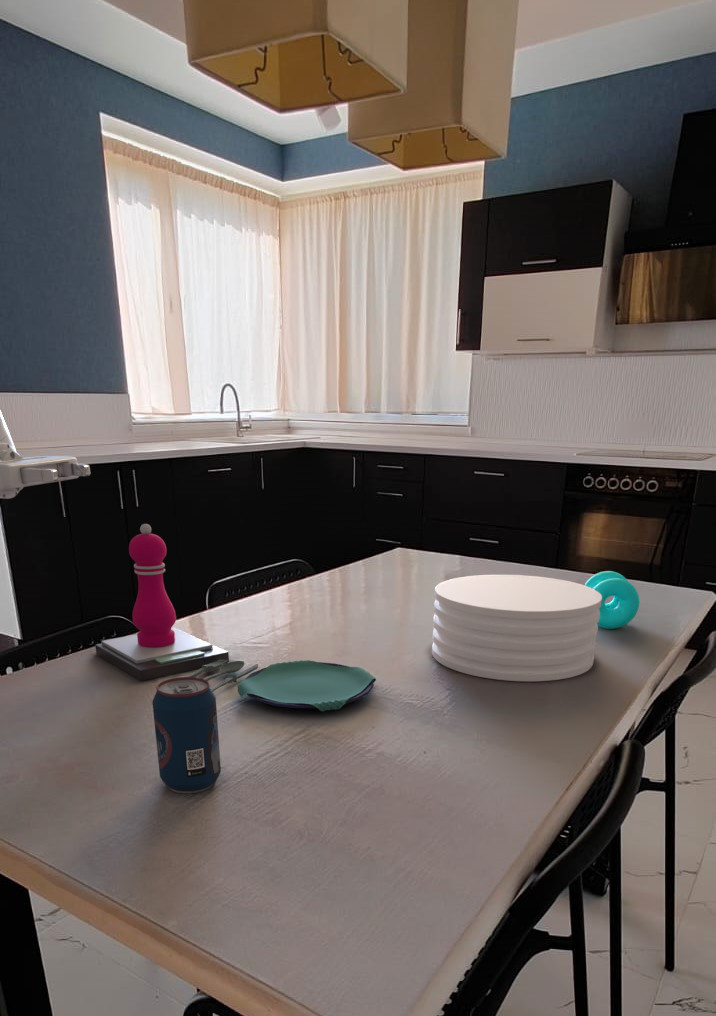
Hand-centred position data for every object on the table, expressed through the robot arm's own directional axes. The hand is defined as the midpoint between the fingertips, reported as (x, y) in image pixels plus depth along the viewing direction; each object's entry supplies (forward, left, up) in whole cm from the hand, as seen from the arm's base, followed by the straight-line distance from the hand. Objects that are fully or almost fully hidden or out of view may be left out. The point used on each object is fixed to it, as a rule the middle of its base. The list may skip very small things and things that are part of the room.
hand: (72, 472), depth 125 cm
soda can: (+57, -12, -30) cm, 65 cm away
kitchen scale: (+11, +7, -30) cm, 33 cm away
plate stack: (+48, +56, -30) cm, 80 cm away
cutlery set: (+37, +14, -30) cm, 50 cm away
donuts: (+46, +88, -30) cm, 104 cm away
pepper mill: (+10, +7, -28) cm, 30 cm away
